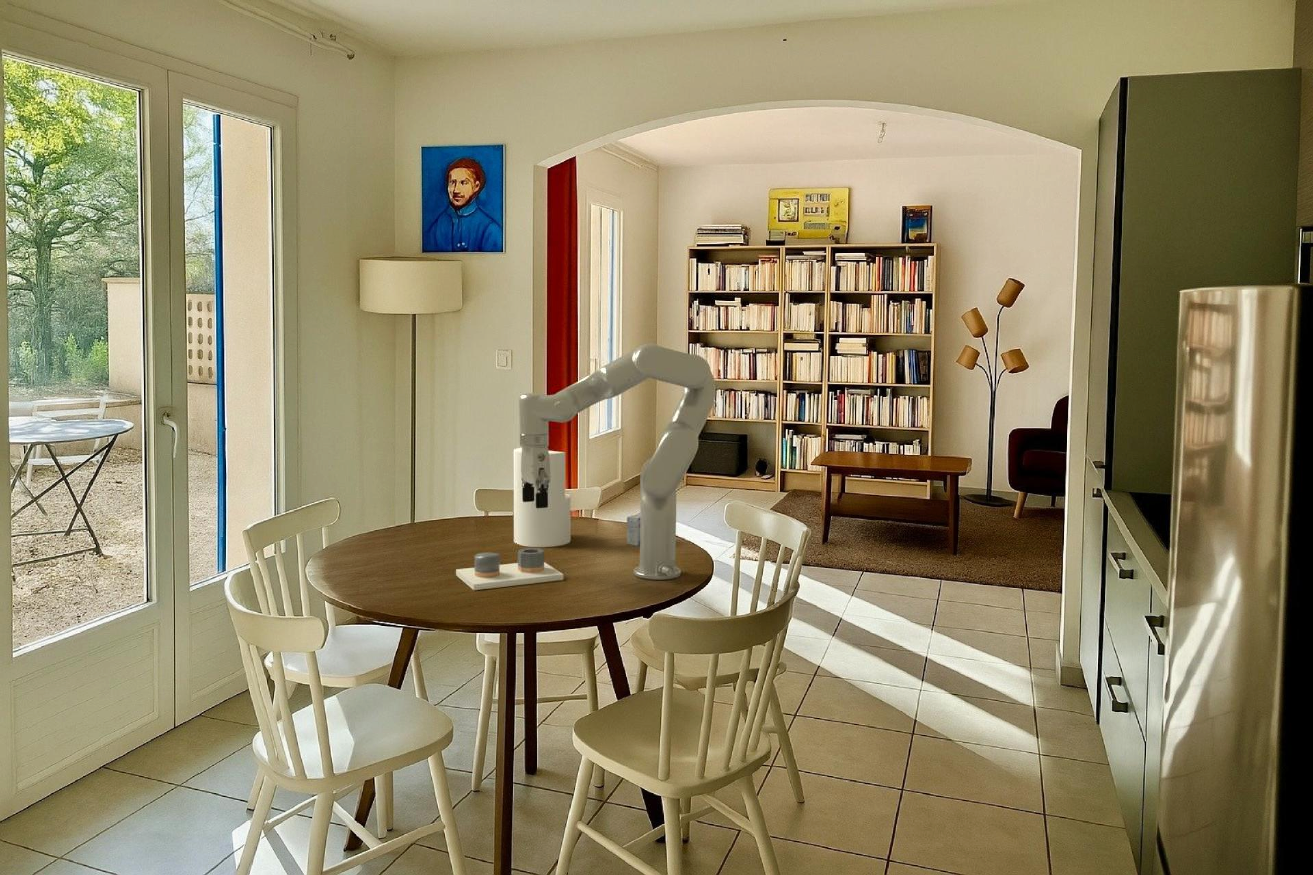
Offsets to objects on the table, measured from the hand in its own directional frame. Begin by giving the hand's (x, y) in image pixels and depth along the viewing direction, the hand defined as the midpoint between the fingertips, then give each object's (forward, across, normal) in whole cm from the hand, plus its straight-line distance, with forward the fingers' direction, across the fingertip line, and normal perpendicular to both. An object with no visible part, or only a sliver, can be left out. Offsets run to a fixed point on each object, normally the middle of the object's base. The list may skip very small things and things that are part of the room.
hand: (535, 504), depth 260 cm
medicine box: (+19, +20, -42) cm, 50 cm away
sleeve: (+17, -1, +2) cm, 17 cm away
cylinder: (+19, +36, -16) cm, 44 cm away
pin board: (+19, -1, +8) cm, 20 cm away
